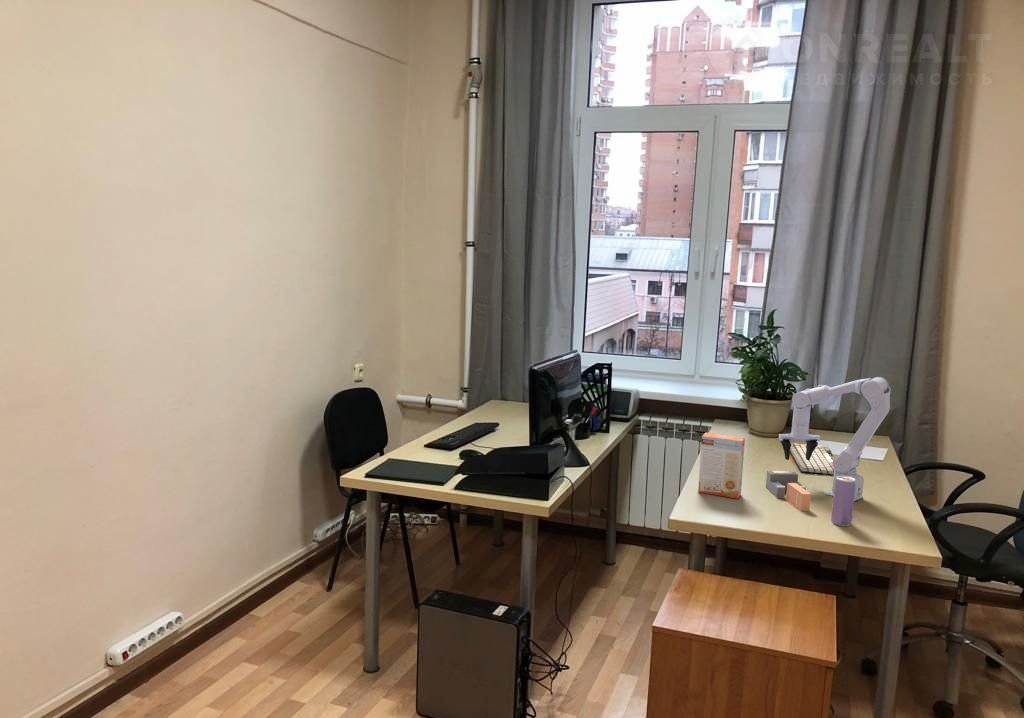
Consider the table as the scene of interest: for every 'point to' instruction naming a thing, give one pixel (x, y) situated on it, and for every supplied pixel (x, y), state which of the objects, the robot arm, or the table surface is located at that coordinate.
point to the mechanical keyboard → (812, 460)
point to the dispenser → (781, 481)
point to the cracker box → (721, 465)
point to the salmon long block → (798, 496)
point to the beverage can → (843, 500)
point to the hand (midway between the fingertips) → (797, 459)
